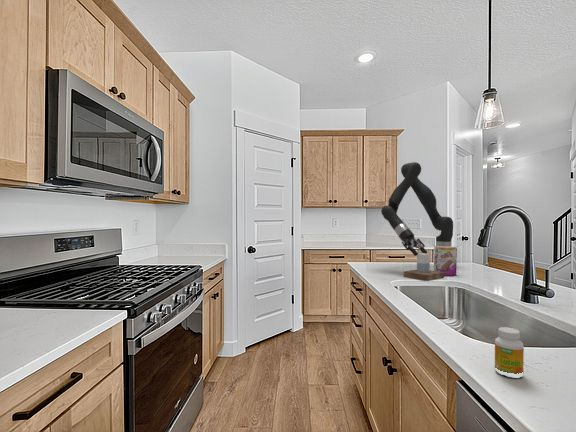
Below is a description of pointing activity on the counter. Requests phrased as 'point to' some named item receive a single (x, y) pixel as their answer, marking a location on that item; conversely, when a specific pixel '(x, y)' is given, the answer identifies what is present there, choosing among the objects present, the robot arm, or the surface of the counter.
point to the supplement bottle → (509, 351)
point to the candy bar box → (445, 260)
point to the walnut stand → (424, 275)
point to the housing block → (423, 262)
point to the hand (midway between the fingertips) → (421, 254)
